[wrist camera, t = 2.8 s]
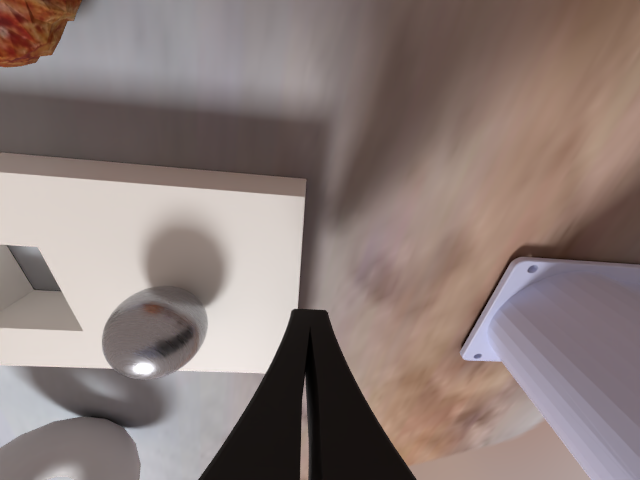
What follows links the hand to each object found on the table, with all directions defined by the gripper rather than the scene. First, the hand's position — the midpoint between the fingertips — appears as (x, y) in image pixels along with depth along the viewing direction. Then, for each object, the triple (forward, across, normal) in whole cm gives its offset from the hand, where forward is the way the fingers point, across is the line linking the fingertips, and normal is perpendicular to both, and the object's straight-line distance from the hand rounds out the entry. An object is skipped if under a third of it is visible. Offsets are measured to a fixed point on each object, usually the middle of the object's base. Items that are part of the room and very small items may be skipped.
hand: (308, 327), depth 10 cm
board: (+4, +8, 0) cm, 9 cm away
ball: (0, +6, 0) cm, 6 cm away
